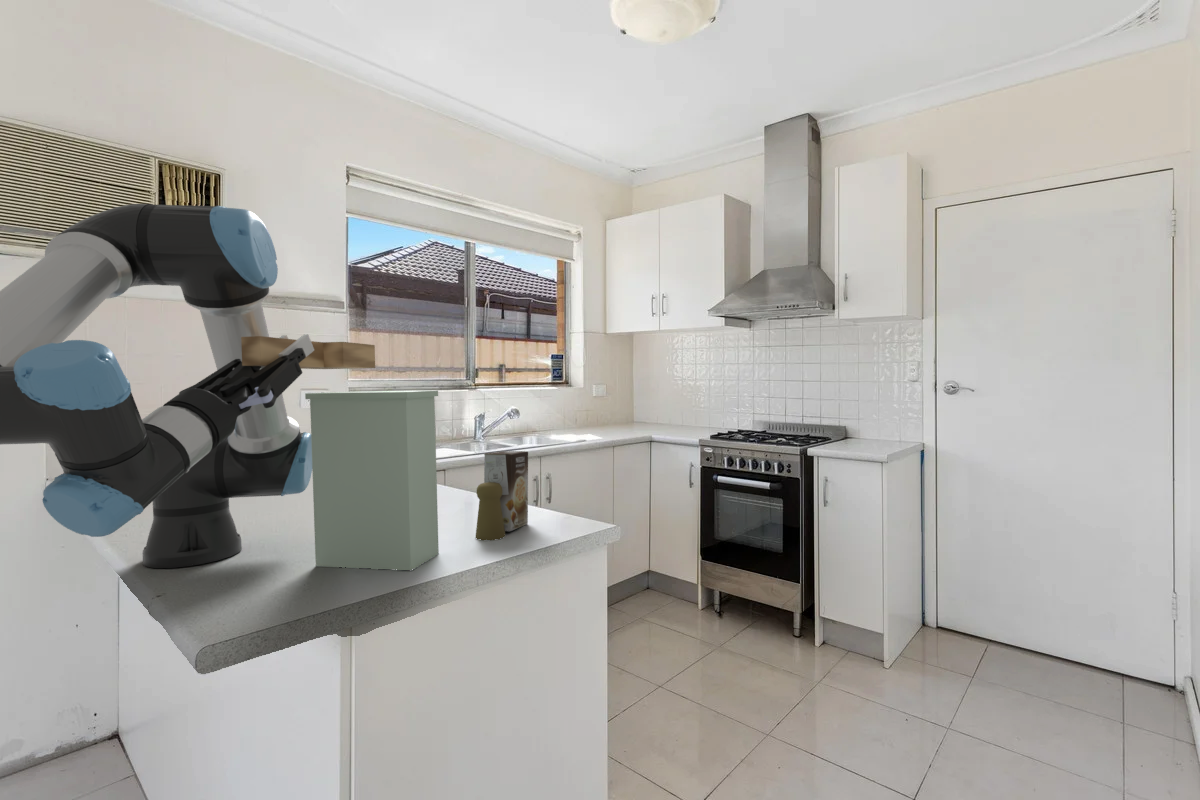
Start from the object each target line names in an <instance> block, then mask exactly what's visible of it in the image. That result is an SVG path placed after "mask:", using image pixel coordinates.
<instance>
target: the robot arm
mask: <svg viewBox="0 0 1200 800" xmlns="http://www.w3.org/2000/svg"><path fill="white" fill-rule="evenodd" d="M272 239H273V238H272V237H271V235H270V232H269V230H268V228H267V227H266V225H265V223H264V222H263V220H262V219H261V218H259V216H258V215H256V214H255V213H254V212H252V211H250V210H248V209H245V208H244V209H243V208H234V207H226V206H223V205H181V204H180V205H179V204H178V205H177V204H153V203H133V204H131V203H130V204H126V205H120V206H116V207H113V208H110V209H109V208H108V209H107V210H103V211H100V212H98V213H96V214H93V215H91V216H88V217H85V218H83V219H82V220H80V221H77V222H76V223H74V224H72V225H71V226H69V227H67V228H66V229H64V230H63V231H61V232H60V233H58V234H57V235H56V236H55V237H53V238H52V239H50V240H49V242H48V243H47V245H46V247H45V250H44V256H43V257H42V258H41V259H40V260H39V261H37V262H36V263H35V264H33V265H32V266H31V267H29V268H28V269H27V270H25V271H24V272H23V273H22V274H20V275H19V276H18V277H16V278H15V279H14V280H12V281H11V282H10V283H9V284H8V285H6V286H4V287H3V288H2V289H0V445H28V444H31V445H32V444H47V445H49V446H50V448H51V449H52V451H53V452H54V456H55V457H56V459H57V462H58V463H59V465H60V467H61V469H62V472H63V473H61V474H60V475H57V476H55V477H54V480H52V481H51V482H50V483H49V484H48V485H47V486H46V487H45V488H44V489H43V492H42V495H43V497H42V505H43V507H44V509H45V510H46V512H47V513H48V515H50V516H51V517H52V518H53V520H55V521H56V522H57V523H58V524H59V525H61V526H63V527H64V528H66V529H67V530H69V531H72V532H74V533H76V534H79V535H83V536H84V535H85V536H89V537H91V538H97V537H98V538H100V537H101V538H102V537H106V536H109V535H111V534H113V533H115V532H117V530H118V529H120V528H122V527H123V526H124V525H126V524H127V523H128V522H130V521H131V520H132V519H134V518H135V517H137V516H139V515H141V514H142V513H143V511H144V510H145V509H146V508H147V507H148V506H149V505H151V503H152V522H151V526H150V530H149V533H148V536H147V540H146V543H145V547H143V550H142V565H144V567H148V568H151V569H152V568H153V569H171V568H172V569H173V568H176V569H177V568H184V567H192V566H198V565H203V564H209V563H212V562H217V561H220V560H223V559H228V558H230V557H232V556H234V555H237V554H238V553H240V552H241V551H242V549H243V548H242V547H243V546H242V536H241V535H240V534H239V533H238V531H237V527H236V524H235V521H234V518H233V516H232V514H231V511H230V498H233V499H234V498H236V499H237V498H253V497H255V498H257V497H276V496H281V497H285V496H286V495H296V494H300V493H303V492H305V490H306V489H308V486H309V484H310V481H311V477H312V474H313V472H312V442H311V432H310V433H309V432H306V431H304V432H301V429H300V425H299V423H298V422H297V420H296V419H294V418H293V417H291V416H288V413H287V409H286V406H285V405H286V404H285V401H284V400H285V399H284V397H283V395H284V394H283V393H284V392H285V391H286V390H287V389H288V388H289V387H290V386H291V385H292V384H293V383H294V382H296V380H297V379H298V378H299V377H300V376H301V375H302V374H303V370H302V369H301V368H300V365H299V363H300V362H301V361H302V360H303V359H305V358H306V357H307V356H308V355H309V354H311V353H312V352H313V351H314V348H313V345H312V343H311V341H312V340H311V338H310V336H309V334H303V335H301V336H300V337H299V338H297V339H295V340H296V341H295V342H294V343H292V344H291V345H290V346H288V347H287V348H286V349H284V350H283V351H282V352H280V353H279V354H278V355H279V358H278V359H276V360H275V361H273V362H272V363H270V364H268V365H267V366H242V345H241V337H252V336H263V337H270V334H269V331H268V326H267V321H266V317H265V312H264V309H263V304H262V303H263V302H264V301H265V299H266V298H267V297H269V295H270V288H271V287H272V286H274V285H275V283H276V282H277V278H278V272H279V271H278V270H279V269H278V264H277V261H278V259H277V253H276V250H275V248H276V247H275V246H274V243H273V240H272ZM140 286H141V287H142V286H170V287H171V286H174V287H175V286H176V287H177V286H178V287H180V289H181V291H182V295H183V298H184V301H185V303H186V304H188V306H191V307H193V308H195V309H197V310H199V313H200V315H201V319H202V322H203V325H204V329H205V333H206V336H207V339H208V343H209V347H210V350H211V353H212V357H213V359H214V363H215V367H216V370H215V371H214V372H213V373H211V374H210V375H208V376H206V377H204V378H203V379H201V380H199V382H197V383H194V384H193V385H190V386H189V387H186V388H185V389H181V390H180V391H179V392H178V394H177V395H175V396H174V397H172V398H171V399H170V400H168V401H167V402H165V403H164V404H162V406H160V407H157V408H156V409H154V410H153V411H152V412H150V413H149V414H148V415H146V416H145V417H144V418H142V417H141V414H140V412H139V409H138V406H137V404H136V402H135V398H134V396H133V393H132V386H131V383H130V380H129V379H128V378H127V377H126V375H125V373H124V371H123V370H122V368H121V366H120V363H119V362H118V359H117V357H116V355H115V353H114V352H113V351H112V350H111V348H109V347H107V346H106V345H105V344H103V343H99V342H96V341H92V340H83V339H71V340H66V339H67V338H68V337H70V335H71V334H72V333H73V332H74V331H76V329H77V328H78V327H79V326H80V325H81V324H82V323H83V322H85V320H86V319H87V318H88V317H90V315H91V314H92V313H93V312H94V311H96V310H97V308H98V307H99V306H100V305H101V304H102V303H103V302H104V301H105V300H108V299H114V298H116V297H119V296H121V295H123V294H124V293H125V292H127V291H128V289H130V288H134V287H140ZM279 338H284V339H289V337H288V335H286V334H284V335H281V336H279Z"/></svg>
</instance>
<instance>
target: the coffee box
mask: <svg viewBox="0 0 1200 800" xmlns="http://www.w3.org/2000/svg"><path fill="white" fill-rule="evenodd" d="M483 455H484V467H483V468H484V474H483V475H484V478H483V479H484V480H483V481H484V482H483V483H486V482H495V483H499V484H500V485H501V486H502V490H503V493H502V496H501V498H500V503H501V509H502V516H503V522H504V529H505V532H513V531H514V530H517V529H519V528H522V527H524V526H526V525H528V523H529V514H528V513H529V502H528V501H529V451H525V450H524V451H523V450H522V451H521V450H518V451H516V450H515V451H514V450H513V451H512V450H511V451H506V450H503V451H495V452H494V451H493V452H487V453H486V452H484V454H483Z"/></svg>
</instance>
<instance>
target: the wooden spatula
mask: <svg viewBox="0 0 1200 800" xmlns="http://www.w3.org/2000/svg"><path fill="white" fill-rule="evenodd" d="M296 340H297V339H293V338H292V339H291V338H288V339H284V338H280V337H271V336H269V337H263V336H252V337H241V345H242V366H267V365H268V364H270V363H272V362H273V361H275V360H276V359H278V358H279V355H278V354H279V353H280V352H282V351H283V350H284V349H286V348H287V347H288V346H290V345H291V344H292V343H294V342H295V341H296ZM311 343H312V345H313V348H314V351H313V352H312V353H311V354H309V355H308V356H307V357H306V358H305V359H303V360H302V361H301V362H300V363H299V365H300V368H301V370H302V369H305V370H306V369H307V370H348V369H349V370H351V369H376V348H375V347H376V345H375V344H370V343H369V344H368V343H359V342H349V341H325V342H324V341H323V342H321V341H312V340H311Z"/></svg>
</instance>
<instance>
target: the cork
mask: <svg viewBox="0 0 1200 800" xmlns="http://www.w3.org/2000/svg"><path fill="white" fill-rule="evenodd" d="M475 492H476V496H477V499H479V503H478V510H477V518H476V527H475V539H476V538H477V539H476V540H478V539H481V540H480V541H484V540H490V541H496V540H495V539H498V540H501V539H500V538H502V539H504V538H505V537H506V536H505V535H506V531H505V529H504V522H503V516H502V509H501V503H500V498H501V496H502V493H503V490H502V486H501V485H500V484H499V483H495V482H486V483H484V482H483V483H480V484H478V486H477V487H476V491H475ZM503 537H504V538H503Z"/></svg>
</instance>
